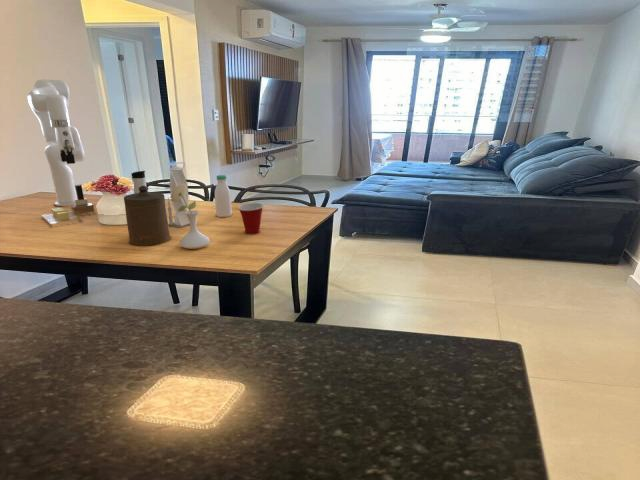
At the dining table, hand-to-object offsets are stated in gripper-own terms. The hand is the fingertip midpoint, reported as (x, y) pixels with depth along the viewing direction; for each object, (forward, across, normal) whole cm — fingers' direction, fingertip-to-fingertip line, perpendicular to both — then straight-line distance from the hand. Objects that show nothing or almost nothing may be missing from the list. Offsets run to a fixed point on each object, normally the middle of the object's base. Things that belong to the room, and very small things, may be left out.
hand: (68, 162), depth 177 cm
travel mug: (+26, -6, -28) cm, 39 cm away
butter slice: (+24, -7, +8) cm, 27 cm away
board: (+26, -2, +8) cm, 27 cm away
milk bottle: (+26, -44, -54) cm, 74 cm away
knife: (+26, 0, -2) cm, 26 cm away
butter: (+24, 0, +8) cm, 26 cm away
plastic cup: (+26, -76, -49) cm, 94 cm away
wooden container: (+26, -58, -12) cm, 65 cm away
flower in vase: (+26, -77, -21) cm, 84 cm away
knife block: (+26, 0, -2) cm, 26 cm away
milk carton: (+26, -46, -31) cm, 61 cm away
